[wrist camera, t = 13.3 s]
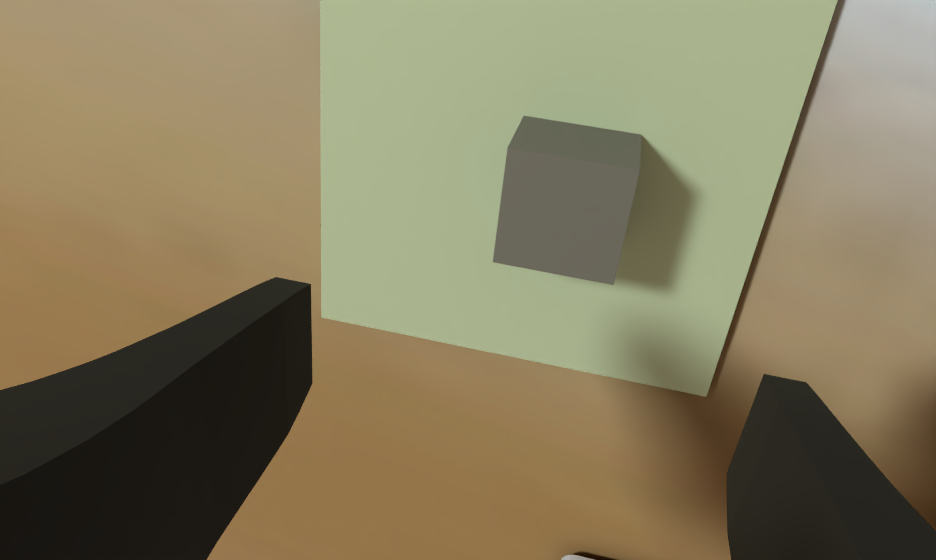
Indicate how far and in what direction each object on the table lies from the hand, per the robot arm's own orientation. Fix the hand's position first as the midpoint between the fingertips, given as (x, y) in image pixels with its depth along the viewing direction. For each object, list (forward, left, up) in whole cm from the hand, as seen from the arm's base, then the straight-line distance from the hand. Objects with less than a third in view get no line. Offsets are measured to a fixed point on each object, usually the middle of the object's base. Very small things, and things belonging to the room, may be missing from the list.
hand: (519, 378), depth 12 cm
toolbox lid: (0, +1, -10) cm, 10 cm away
